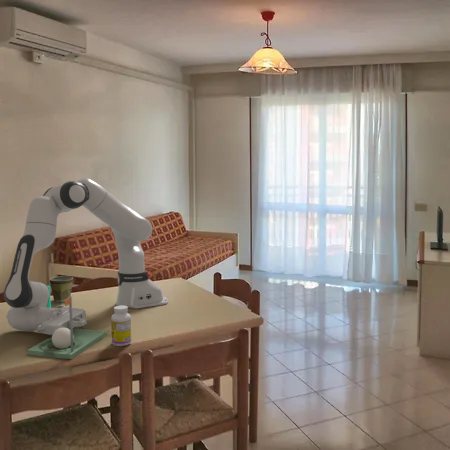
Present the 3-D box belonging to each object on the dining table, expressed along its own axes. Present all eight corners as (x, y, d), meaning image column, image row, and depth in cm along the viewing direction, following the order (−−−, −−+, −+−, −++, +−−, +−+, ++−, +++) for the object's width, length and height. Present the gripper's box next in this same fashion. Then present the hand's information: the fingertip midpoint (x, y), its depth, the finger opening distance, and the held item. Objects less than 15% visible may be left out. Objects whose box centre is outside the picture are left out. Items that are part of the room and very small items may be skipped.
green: (67, 331, 200) (65, 279, 198) (106, 335, 196) (105, 282, 194) (27, 354, 177) (24, 296, 175) (71, 359, 173) (69, 299, 171)
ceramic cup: (76, 301, 242) (76, 279, 241) (54, 304, 237) (53, 282, 236) (67, 295, 253) (66, 273, 252) (45, 298, 247) (44, 276, 246)
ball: (57, 329, 178) (56, 351, 178) (77, 328, 182) (76, 349, 182) (48, 327, 183) (47, 348, 183) (68, 325, 188) (67, 346, 187)
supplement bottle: (113, 340, 191) (112, 304, 189) (132, 340, 191) (131, 304, 190) (110, 347, 184) (109, 310, 183) (130, 346, 185) (129, 309, 183)
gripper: (32, 320, 187) (68, 323, 183) (64, 304, 206) (97, 306, 203) (33, 338, 188) (69, 341, 184) (65, 320, 207) (98, 323, 204)
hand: (84, 323), depth 194 cm, fingers closed
